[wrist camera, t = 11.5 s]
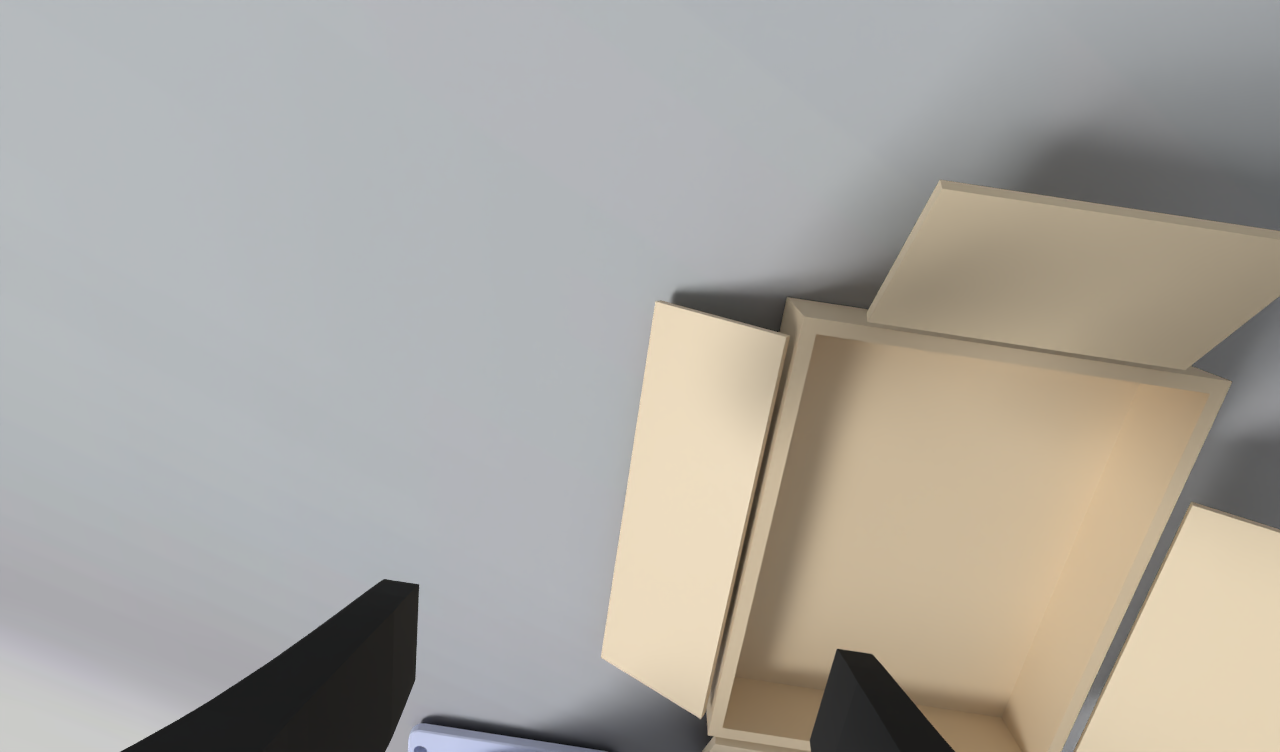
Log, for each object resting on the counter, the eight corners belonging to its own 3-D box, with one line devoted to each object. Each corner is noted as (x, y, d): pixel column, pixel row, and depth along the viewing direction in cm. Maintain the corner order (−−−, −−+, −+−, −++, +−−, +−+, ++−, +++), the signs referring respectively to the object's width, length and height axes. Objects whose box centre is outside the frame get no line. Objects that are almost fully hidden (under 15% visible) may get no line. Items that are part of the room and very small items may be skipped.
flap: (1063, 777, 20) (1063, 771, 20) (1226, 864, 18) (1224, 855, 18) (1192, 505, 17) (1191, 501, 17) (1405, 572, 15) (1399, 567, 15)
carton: (975, 798, 24) (1009, 869, 22) (588, 738, 24) (578, 803, 22) (1161, 353, 19) (1236, 382, 16) (659, 277, 19) (656, 294, 16)
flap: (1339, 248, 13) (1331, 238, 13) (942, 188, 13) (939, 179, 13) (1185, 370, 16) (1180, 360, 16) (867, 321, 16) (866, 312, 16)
